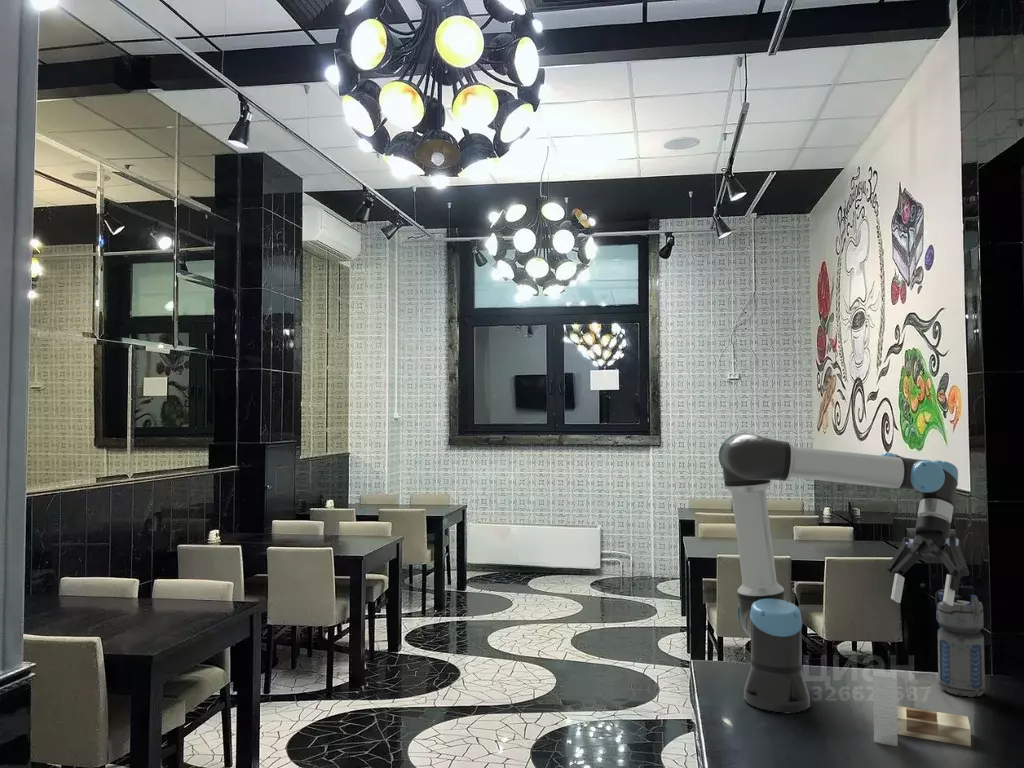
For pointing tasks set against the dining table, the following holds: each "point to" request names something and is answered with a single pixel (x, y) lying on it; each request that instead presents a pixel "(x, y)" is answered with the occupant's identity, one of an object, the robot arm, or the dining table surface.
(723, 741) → the dining table surface
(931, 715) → the foot beam
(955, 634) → the beverage bottle
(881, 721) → the white square post
